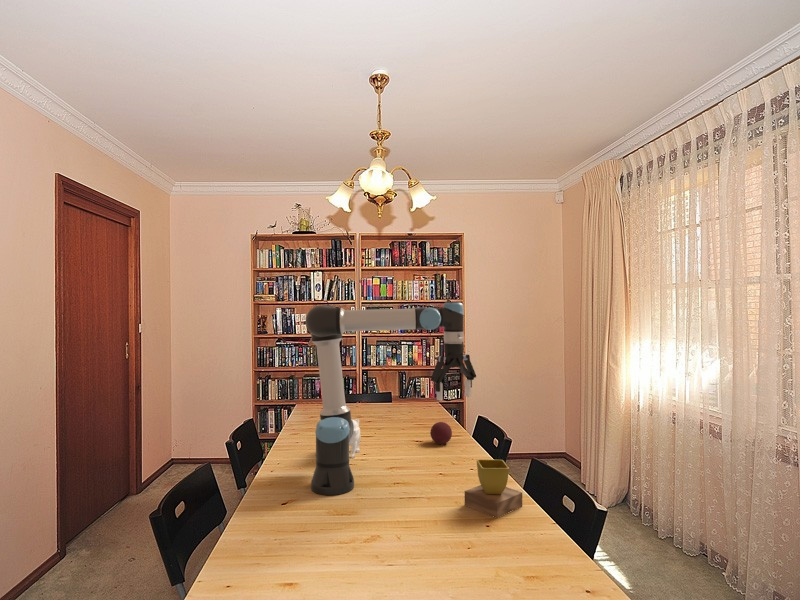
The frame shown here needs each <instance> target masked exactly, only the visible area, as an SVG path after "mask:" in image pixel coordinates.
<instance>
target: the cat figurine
mask: <svg viewBox="0 0 800 600" xmlns="http://www.w3.org/2000/svg"><path fill="white" fill-rule="evenodd" d="M351 420H352V421H353V425H354V431H353V435H352V437H351V439H350V442H349V446H350V445H351V446H350V447H351V449H350V455H351V458H350V459H355V457H356V455H355V454H356V453H361V449H360V442H361V439H362V437H361V427H359V426H360V419H359V418H356V419H352V418H351Z"/></svg>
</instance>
